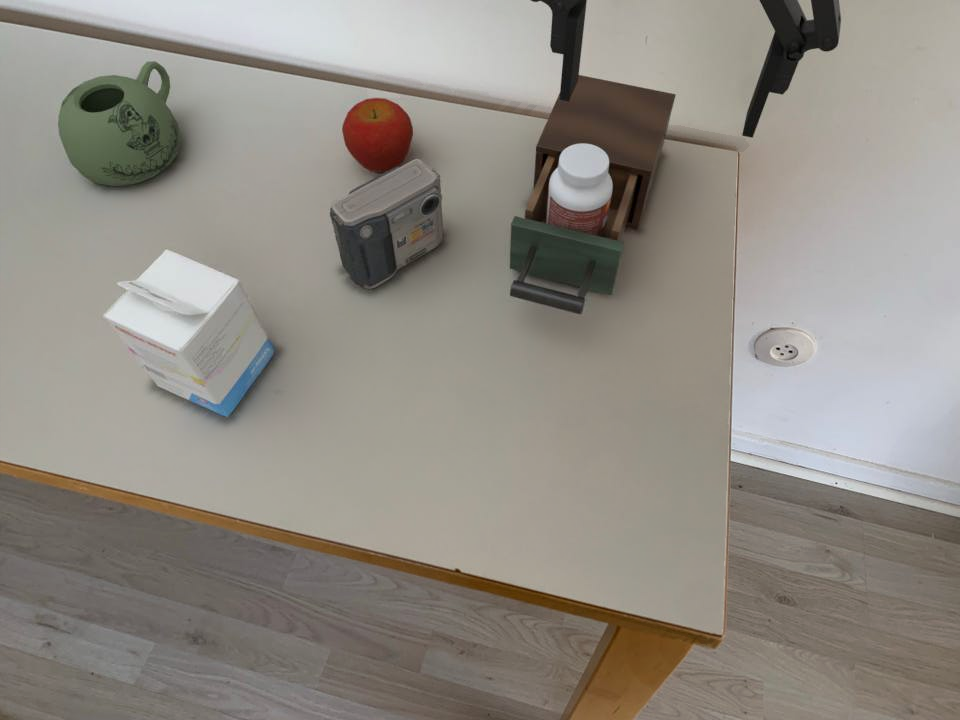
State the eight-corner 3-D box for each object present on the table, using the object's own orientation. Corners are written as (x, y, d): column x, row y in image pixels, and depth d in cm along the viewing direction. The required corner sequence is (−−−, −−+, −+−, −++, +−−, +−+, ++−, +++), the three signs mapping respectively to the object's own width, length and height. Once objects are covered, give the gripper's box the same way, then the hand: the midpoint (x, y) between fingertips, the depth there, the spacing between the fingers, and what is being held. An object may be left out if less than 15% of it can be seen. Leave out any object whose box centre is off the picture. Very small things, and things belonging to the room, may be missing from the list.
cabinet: (637, 230, 80) (651, 171, 73) (532, 205, 83) (536, 145, 76) (660, 155, 87) (675, 94, 80) (562, 133, 89) (568, 72, 82)
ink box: (277, 352, 73) (238, 265, 61) (226, 420, 69) (174, 340, 57) (208, 322, 75) (156, 232, 63) (154, 386, 71) (89, 302, 59)
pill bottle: (610, 257, 76) (626, 177, 67) (552, 267, 75) (561, 188, 66) (593, 214, 79) (606, 132, 70) (537, 223, 79) (544, 142, 69)
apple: (421, 178, 85) (415, 124, 79) (354, 190, 84) (342, 136, 78) (409, 134, 89) (403, 79, 83) (345, 145, 89) (334, 90, 82)
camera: (363, 297, 76) (347, 231, 68) (336, 263, 79) (317, 195, 70) (453, 247, 80) (449, 178, 71) (424, 216, 82) (416, 146, 74)
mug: (140, 207, 83) (107, 148, 76) (53, 175, 87) (13, 115, 79) (223, 122, 91) (200, 61, 84) (141, 95, 94) (111, 33, 87)
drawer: (596, 343, 71) (605, 301, 66) (490, 315, 73) (490, 272, 68) (635, 216, 80) (646, 169, 75) (540, 194, 82) (544, 146, 77)
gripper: (998, -249, 36) (834, 108, 54) (520, -293, 41) (512, 48, 59) (1006, -188, 33) (826, 175, 50) (477, -244, 37) (483, 105, 55)
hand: (657, 107), depth 55 cm, fingers open, 13 cm apart
